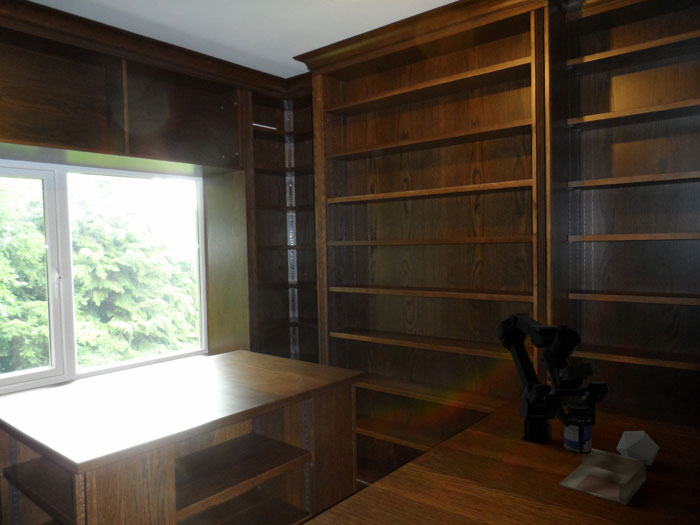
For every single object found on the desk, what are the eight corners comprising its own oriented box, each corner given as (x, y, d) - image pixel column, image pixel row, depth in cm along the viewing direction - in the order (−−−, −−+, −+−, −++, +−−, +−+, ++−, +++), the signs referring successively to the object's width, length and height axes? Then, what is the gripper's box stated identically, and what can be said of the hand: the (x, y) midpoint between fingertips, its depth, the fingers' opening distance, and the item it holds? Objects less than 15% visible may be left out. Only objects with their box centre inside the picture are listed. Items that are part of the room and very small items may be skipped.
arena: (559, 485, 118) (558, 466, 118) (583, 463, 129) (583, 446, 129) (625, 504, 108) (625, 484, 108) (645, 479, 120) (645, 460, 120)
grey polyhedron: (656, 476, 123) (669, 439, 126) (622, 456, 124) (636, 421, 127) (638, 474, 131) (651, 440, 134) (606, 456, 132) (619, 422, 135)
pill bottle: (586, 445, 127) (587, 402, 126) (595, 456, 121) (596, 410, 120) (560, 444, 127) (561, 401, 127) (568, 455, 121) (568, 409, 121)
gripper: (533, 352, 126) (554, 411, 116) (606, 350, 127) (633, 408, 117) (520, 375, 134) (538, 432, 124) (589, 373, 136) (613, 429, 125)
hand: (580, 425), depth 122 cm, fingers closed on pill bottle, 6 cm apart
